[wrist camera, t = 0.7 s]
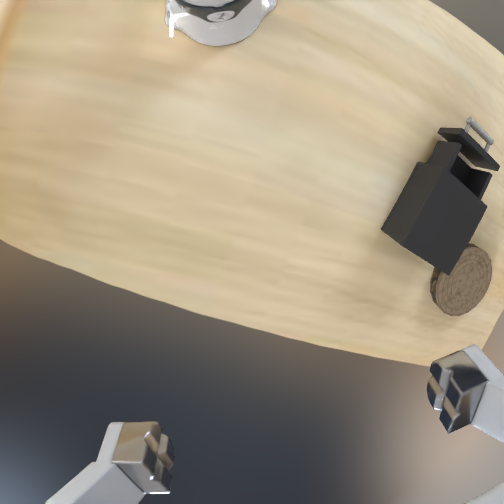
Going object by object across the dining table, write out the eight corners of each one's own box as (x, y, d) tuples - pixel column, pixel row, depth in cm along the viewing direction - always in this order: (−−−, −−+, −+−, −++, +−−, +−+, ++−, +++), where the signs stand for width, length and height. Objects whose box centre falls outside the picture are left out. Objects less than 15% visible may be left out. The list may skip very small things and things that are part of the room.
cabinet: (417, 161, 52) (444, 167, 43) (460, 196, 54) (487, 206, 45) (380, 229, 56) (401, 245, 48) (425, 258, 58) (448, 276, 50)
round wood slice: (460, 228, 56) (468, 232, 53) (494, 265, 59) (501, 270, 56) (417, 290, 61) (423, 296, 58) (455, 319, 64) (461, 326, 61)
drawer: (448, 109, 47) (470, 109, 41) (484, 144, 49) (507, 147, 42) (409, 188, 53) (429, 196, 46) (449, 218, 55) (470, 228, 48)
